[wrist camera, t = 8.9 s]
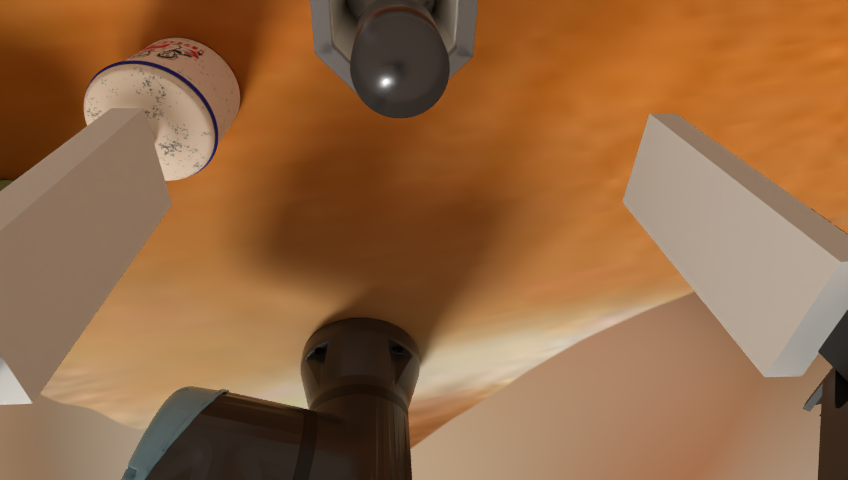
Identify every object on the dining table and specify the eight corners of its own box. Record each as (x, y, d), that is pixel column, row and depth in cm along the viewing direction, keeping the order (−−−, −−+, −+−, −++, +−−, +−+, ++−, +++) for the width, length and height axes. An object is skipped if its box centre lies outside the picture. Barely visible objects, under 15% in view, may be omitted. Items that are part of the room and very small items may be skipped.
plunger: (430, 37, 38) (467, 140, 21) (353, 35, 37) (330, 139, 21) (434, -53, 34) (481, -11, 18) (349, -56, 34) (317, -16, 18)
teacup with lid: (210, 18, 40) (155, 55, 30) (262, 120, 45) (229, 179, 35) (80, 63, 41) (-12, 112, 31) (145, 157, 46) (83, 224, 36)
